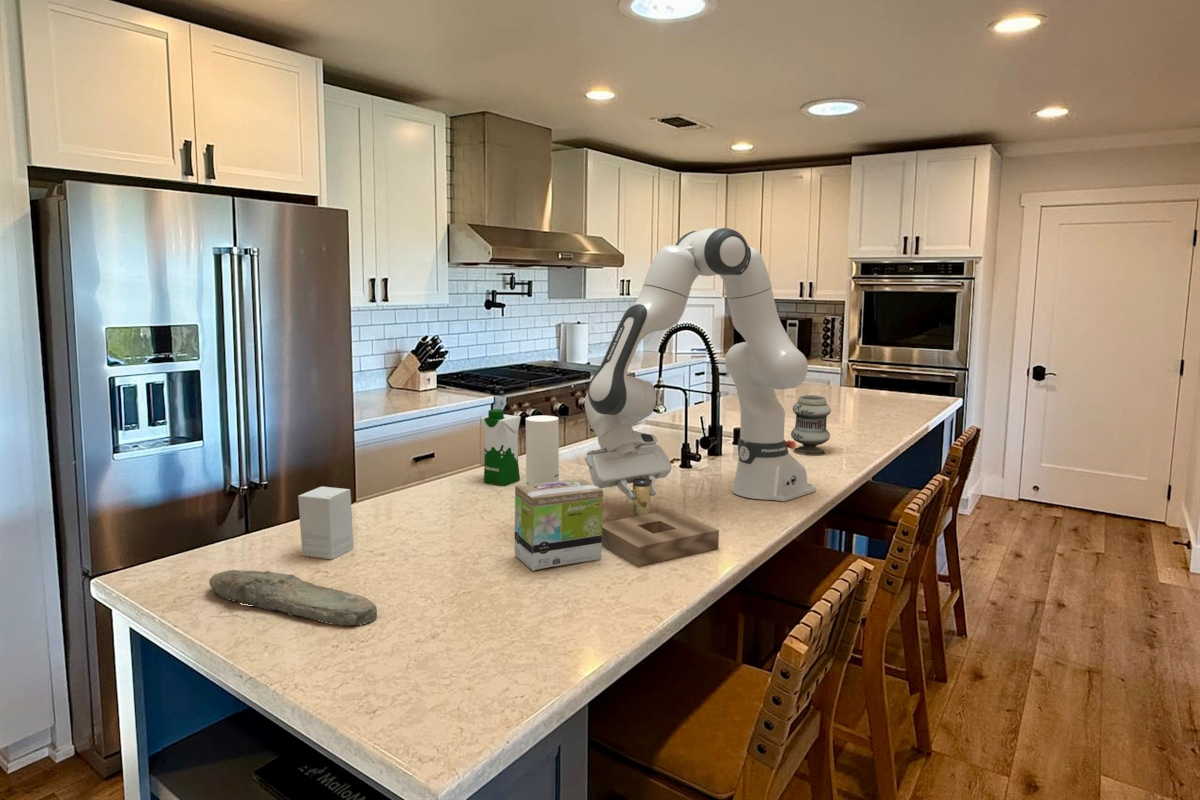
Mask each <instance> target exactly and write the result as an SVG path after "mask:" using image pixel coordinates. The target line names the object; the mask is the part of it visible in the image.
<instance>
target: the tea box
mask: <svg viewBox="0 0 1200 800" xmlns="http://www.w3.org/2000/svg"><path fill="white" fill-rule="evenodd" d="M603 500H604V490H603V488H598V487H597V486H595V485H594V484H593V483H591V482H589V481H587V480H586V479H584V478H574V479H573V478H571V479H564V480H562V479H561V480H559V481H553V482H544V483H535V484H527V485H526V484H518V485H515V489H514V555H515V556H516V557H517V558H518V559H519V560H520V561H521V562H522V563H523V564H524V565H525V566H527V568H528V569H530V570H532V572H534V571H537V570H542V569H548V568H551V567H552V568H553V567H559V566H567V565H572V564H579V563H586V562H592V561H593V560H594V561H599V560H598V559H600V560H601V559H602V548H603V546H602V523H603V511H604V508H603V506H604V505H603V503H604V501H603Z"/></svg>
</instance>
